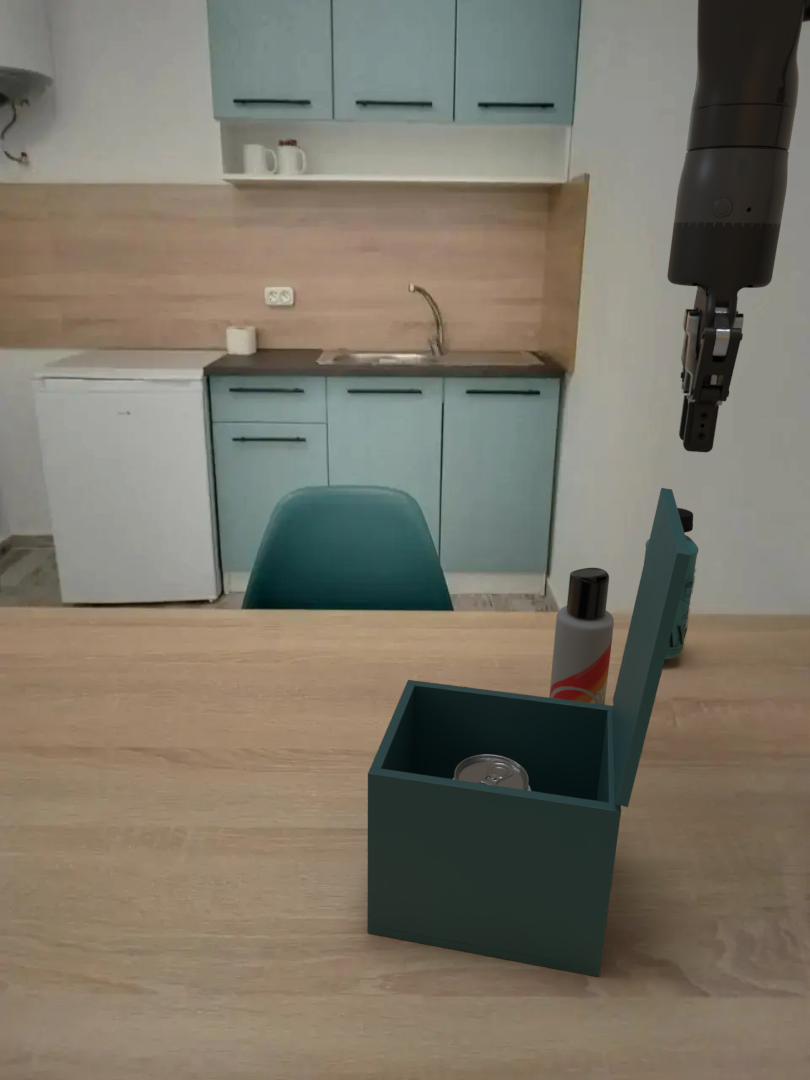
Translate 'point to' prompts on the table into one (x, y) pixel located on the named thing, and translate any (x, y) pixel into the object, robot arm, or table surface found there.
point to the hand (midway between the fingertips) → (694, 444)
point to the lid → (648, 640)
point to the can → (492, 771)
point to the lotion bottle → (583, 640)
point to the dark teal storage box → (494, 827)
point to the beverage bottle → (683, 591)
